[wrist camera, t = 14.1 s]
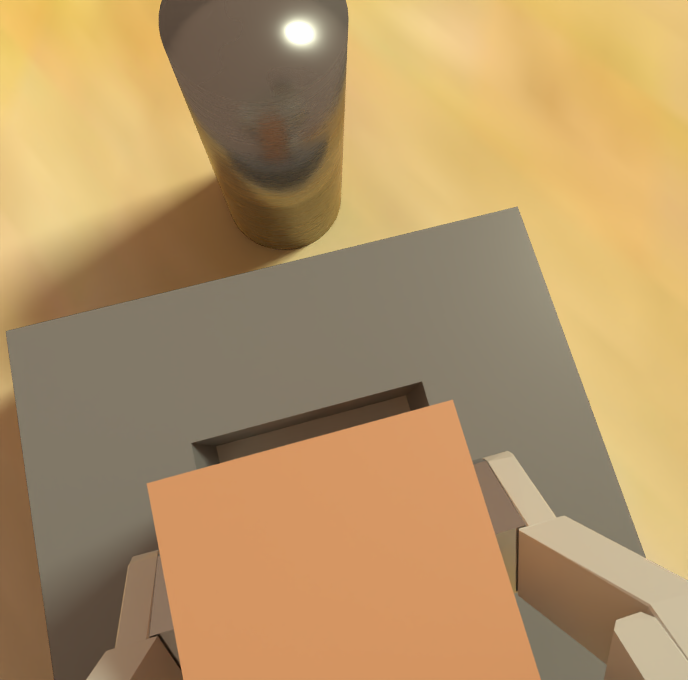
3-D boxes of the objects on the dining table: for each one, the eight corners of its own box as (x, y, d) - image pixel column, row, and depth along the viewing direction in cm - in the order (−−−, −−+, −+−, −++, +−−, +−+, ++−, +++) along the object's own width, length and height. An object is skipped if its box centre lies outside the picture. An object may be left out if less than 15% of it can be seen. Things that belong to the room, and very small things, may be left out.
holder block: (625, 688, 16) (720, 763, 12) (157, 841, 15) (95, 978, 11) (478, 259, 19) (517, 206, 15) (77, 359, 18) (5, 331, 14)
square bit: (430, 582, 14) (559, 736, 6) (281, 627, 14) (215, 850, 6) (388, 431, 15) (453, 400, 7) (246, 471, 14) (147, 483, 7)
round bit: (353, 234, 19) (370, 76, 11) (242, 261, 19) (179, 117, 11) (325, 136, 20) (321, -76, 12) (218, 160, 19) (143, -41, 12)
